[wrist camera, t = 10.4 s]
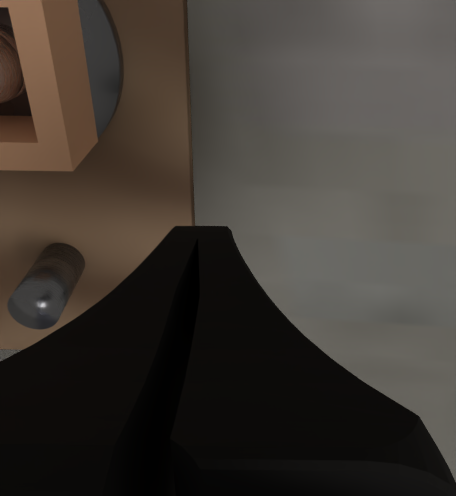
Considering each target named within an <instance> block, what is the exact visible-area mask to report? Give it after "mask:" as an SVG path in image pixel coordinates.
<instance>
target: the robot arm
mask: <svg viewBox="0 0 456 496" xmlns="http://www.w3.org/2000/svg"><path fill="white" fill-rule="evenodd" d="M0 496H456V482H455V480H454V478H453V476H452V473H451V471H450V469H449V467H448V465H447V463H446V462H445V460H444V458H443V456H442V454H441V453H440V451H439V449H438V447H437V445H436V444H435V442H434V440H433V439H432V437H431V435H430V434H429V432H428V430H427V429H426V427H425V425H424V424H423V422H422V420H421V419H420V417H419V416H418V415H416V414H415V413H413V412H411V411H410V410H408V409H407V408H405V407H403V406H402V405H400V404H398V403H397V402H395V401H394V400H392V399H390V398H389V397H387V396H385V395H384V394H382V393H380V392H379V391H377V390H376V389H374V388H372V387H371V386H369V385H367V384H366V383H364V382H363V381H361V380H360V379H359V378H357V377H356V376H354V375H353V374H352V373H350V372H349V371H348V370H346V369H345V368H343V367H342V366H341V365H339V364H338V363H336V362H335V361H334V360H333V359H331V358H330V357H329V356H328V355H326V354H325V353H324V352H323V351H322V350H321V349H319V348H318V347H317V346H316V345H315V344H314V343H312V342H311V341H310V340H309V339H308V338H306V337H305V336H304V335H303V334H302V333H301V332H300V331H299V330H298V329H297V328H296V327H295V326H294V325H293V324H292V323H291V322H290V321H289V320H288V319H287V318H286V316H285V315H284V314H283V313H282V312H281V311H280V310H279V309H278V308H277V306H276V305H275V304H274V303H273V302H272V300H271V299H270V298H269V297H268V295H267V294H266V293H265V291H264V290H263V289H262V287H261V286H260V285H259V283H258V282H257V280H256V279H255V277H254V276H253V274H252V273H251V271H250V269H249V268H248V266H247V264H246V263H245V261H244V259H243V258H242V256H241V254H240V252H239V250H238V248H237V246H236V243H235V241H234V238H233V235H232V231H231V230H230V229H229V228H228V227H227V226H175V227H174V228H172V229H171V230H170V232H169V233H168V234H167V235H166V236H165V237H164V239H163V240H162V241H161V242H160V243H159V244H158V245H157V247H156V248H155V249H154V250H153V251H152V252H151V253H150V254H149V255H148V256H147V257H146V258H145V259H144V261H143V262H142V263H141V264H140V265H139V266H138V267H137V268H136V269H135V270H134V271H133V272H132V273H131V274H130V275H129V276H127V277H126V278H125V279H124V280H123V281H122V282H121V283H120V284H119V285H118V286H117V287H115V288H114V289H113V290H112V291H111V292H110V293H109V294H107V295H106V296H105V297H104V298H102V299H101V300H100V301H99V302H97V303H96V304H95V305H93V306H92V307H90V308H89V309H88V310H86V311H85V312H84V313H82V314H81V315H79V316H78V317H76V318H75V319H74V320H72V321H70V322H69V323H67V324H65V325H64V326H62V327H61V328H59V329H57V330H56V331H54V332H52V333H51V334H49V335H48V336H46V337H44V338H43V339H41V340H40V341H38V342H36V343H35V344H33V345H31V346H29V347H27V348H25V349H24V350H22V351H20V352H18V353H16V354H14V355H12V356H10V357H9V358H7V359H5V360H3V361H1V362H0Z"/></svg>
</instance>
